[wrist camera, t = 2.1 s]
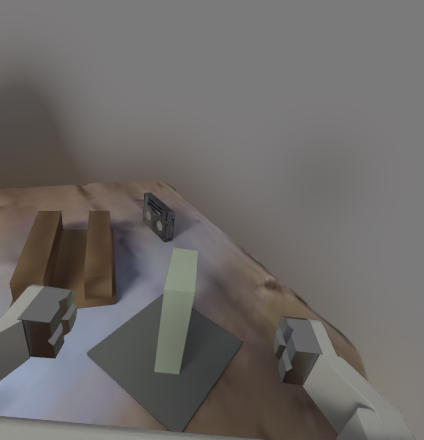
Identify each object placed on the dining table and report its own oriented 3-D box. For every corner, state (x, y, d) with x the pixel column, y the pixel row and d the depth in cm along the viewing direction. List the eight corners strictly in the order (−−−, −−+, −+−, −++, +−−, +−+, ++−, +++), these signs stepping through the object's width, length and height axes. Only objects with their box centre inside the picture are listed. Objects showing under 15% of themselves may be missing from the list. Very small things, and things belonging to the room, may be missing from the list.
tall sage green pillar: (154, 371, 27) (164, 289, 22) (163, 323, 33) (173, 247, 28) (179, 374, 28) (194, 293, 23) (184, 326, 33) (198, 251, 28)
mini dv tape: (171, 240, 49) (175, 211, 47) (164, 242, 48) (167, 212, 46) (149, 219, 55) (151, 191, 52) (142, 221, 54) (144, 192, 51)
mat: (87, 355, 28) (87, 352, 28) (165, 293, 38) (166, 291, 37) (177, 438, 23) (178, 436, 23) (242, 344, 33) (242, 341, 32)
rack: (11, 315, 31) (3, 283, 28) (38, 237, 44) (34, 210, 41) (116, 303, 35) (116, 275, 32) (112, 235, 47) (112, 211, 45)
